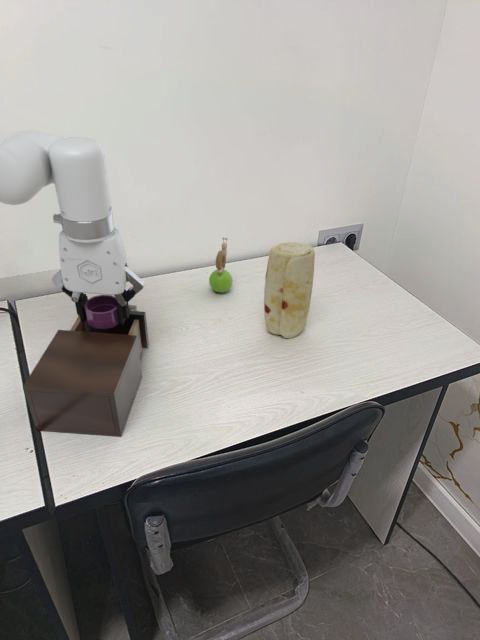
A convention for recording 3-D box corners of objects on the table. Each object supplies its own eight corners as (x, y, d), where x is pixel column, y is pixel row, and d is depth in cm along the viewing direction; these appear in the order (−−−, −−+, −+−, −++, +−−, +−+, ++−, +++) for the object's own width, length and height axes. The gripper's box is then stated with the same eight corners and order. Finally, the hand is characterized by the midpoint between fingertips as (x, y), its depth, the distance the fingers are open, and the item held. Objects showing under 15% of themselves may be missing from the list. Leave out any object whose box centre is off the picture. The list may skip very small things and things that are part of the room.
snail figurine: (235, 284, 119) (236, 238, 112) (229, 298, 114) (230, 251, 107) (213, 281, 120) (213, 235, 112) (206, 295, 115) (206, 247, 107)
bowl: (82, 329, 86) (79, 312, 84) (93, 310, 91) (90, 293, 88) (117, 331, 86) (114, 314, 84) (126, 312, 91) (123, 296, 88)
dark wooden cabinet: (68, 371, 91) (58, 329, 85) (142, 377, 91) (137, 335, 85) (36, 430, 79) (22, 386, 74) (121, 436, 80) (113, 393, 74)
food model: (302, 321, 109) (313, 236, 96) (310, 339, 104) (323, 252, 91) (258, 324, 107) (264, 238, 94) (265, 342, 102) (272, 254, 89)
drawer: (94, 323, 102) (88, 290, 97) (154, 327, 102) (152, 295, 97) (61, 386, 87) (52, 351, 82) (131, 391, 87) (127, 356, 82)
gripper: (23, 230, 74) (48, 327, 85) (138, 238, 74) (148, 334, 85) (42, 210, 80) (63, 304, 91) (149, 218, 80) (157, 310, 91)
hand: (104, 318), depth 88 cm, fingers closed on bowl, 6 cm apart
